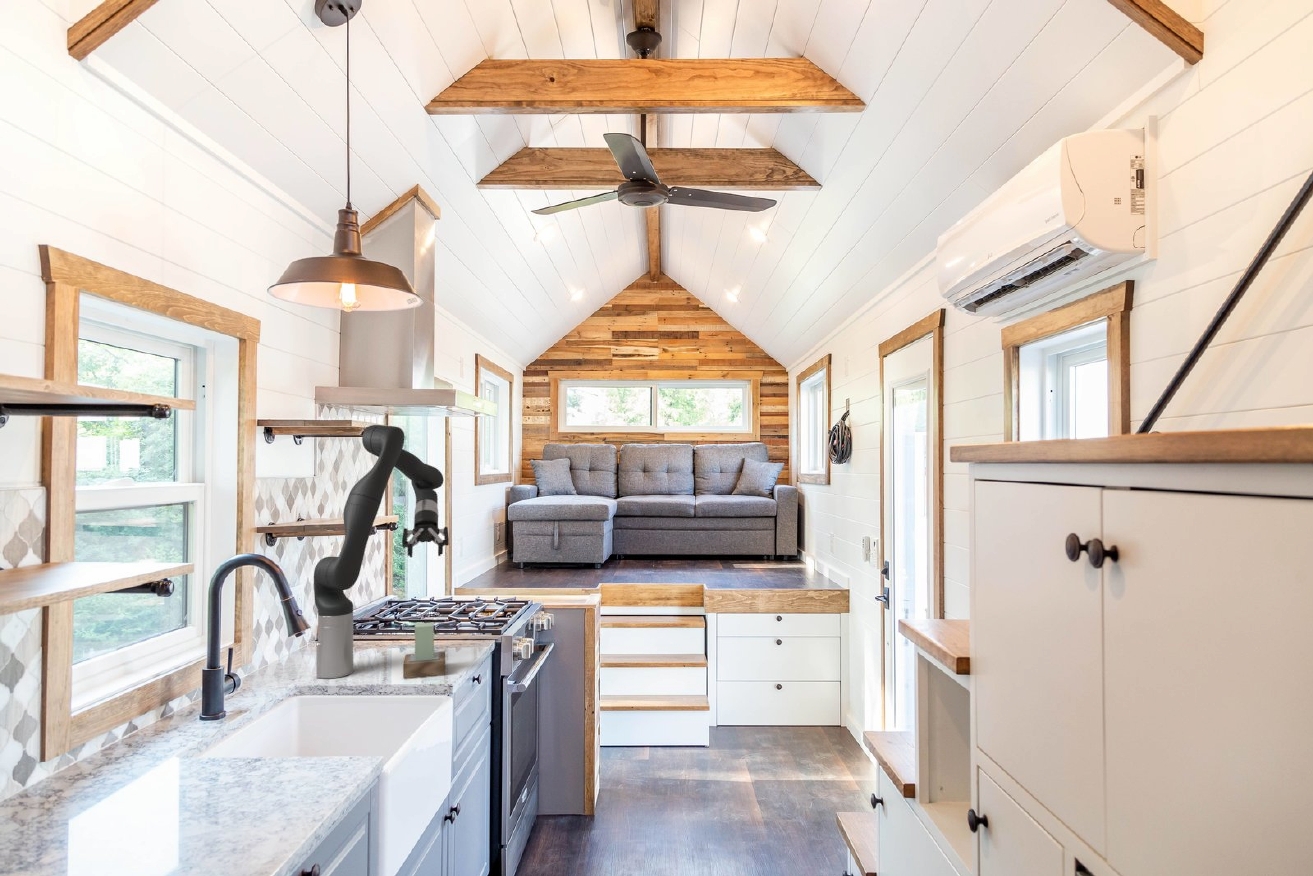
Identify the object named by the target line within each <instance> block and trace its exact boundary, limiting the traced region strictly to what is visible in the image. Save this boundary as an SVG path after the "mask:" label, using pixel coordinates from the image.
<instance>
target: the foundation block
mask: <svg viewBox="0 0 1313 876" xmlns="http://www.w3.org/2000/svg"><path fill="white" fill-rule="evenodd" d="M404 656H405V657H404V660H403V663H402V664H403V665H402V669H403V670H402V673H403V675H402V676H403V677H402V678H410V679H417V677H420V678H427V677H426V676H431V677H436V676H435V675H441V676H445V675H446V650H444V651H434V658H427V659H416V660H415V653H409V654H405V655H404Z"/></svg>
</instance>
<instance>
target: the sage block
mask: <svg viewBox="0 0 1313 876" xmlns="http://www.w3.org/2000/svg"><path fill="white" fill-rule="evenodd" d="M434 623H435V622H434V621H433V622H419V623H417V622H416V623H415V624H414V654H415V660H416V659H427V658H434V652H435V639H434V638H435V635H434V634H435V631H434V630H435V629H434V628H435V624H434Z"/></svg>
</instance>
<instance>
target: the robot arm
mask: <svg viewBox="0 0 1313 876" xmlns="http://www.w3.org/2000/svg"><path fill="white" fill-rule="evenodd" d="M362 433H363V434H362V437H361V438H362V439H361V442H362V445H363V448H364V449H365V450H366V452H368V453H369V454H372V455H373V456H376V457H377V460H376V461H375V464H374V465H373V467H372V468H371V469H370V470H369V471H368V472H367V473H366V474H364V476H363V477H361V478H360V479H359V480H358V481H357V482H356V483H355V484H354V485H353V486H352V488H351V490H350V492H349V494H348V496H347V499H346V501H345V505H344V508H343V513H342V514H343V516H342V517H343V527H344V540H343V544H342V546H341V550H340V551H339V552H340V553H339V555H338V556H326V557H323V558H321V559H320V560H319V561H318V562H317V564H316V565H315V568H314V571H313V590H314V591H313V594H314V604H315V606H316V609H317V628H318V629H317V643H316V647H315V649H316V652H315V653H316V665H315V666H316V670H315V671H316V678H317V679H321V678H322V679H335V678H342V677H347V676H348V675H349V676H350V675H351V674H353V673H354V603H353V601H352V600H351V599H349V598H348V596H346V594H345V592H344V591H347V590H349V589H351V588H352V587H353V586H354V585H355V584H356V582H357V580H358V578H359V576H360V573H361V569H362V564H363V562H364V561H363V560H364V556H365V551H366V549H367V544H368V541H369V537H370V535H371V531H372V528H373V525H374V522H375V519H376V516H377V515H378V511H379V509H380V506H381V503H382V501H383V497H384V493H385V491H386V487H387V485H388V482H389V480H390V477H391V474H392V473H393V470H394V469H397V470H399V472H400V473H402V474H403V475H404V477H405V476H406V478H408V479H409V481H411V486H412V489H413V491H414V495H415V508H414V516H413V517H414V518H413V519H414V522H413V529H409V530H408V528H406V527H405V528H403V531H402V537H401V538H402V539H401V543H402V544H401V547H402V548H407V556H408V557H409V558H413V553H414V551H413V550H414V549H413V548H414V547H415V546H417V545H418V544H419V543H425V542H426V543H431V542H433V543H434V544H435V545H436V546H437V547H438V548H437V556H438V557H441V555H443V553H444V546H446V547H447V546H449V545H450V543H449V540H450V539H449V538H450V537H449V527H448V526H444V527H443V528H439V509H438V507H439V506H438V499H439V497H438V493H437V492H436V489H439V488H441V487H442V485H443V484H444V474H442V472H441V471H440V470H439V469H438V468H437V467H435V466H432V465H430V464H428V463H424V462H423V461H422V460H421V459H420V458H419V457H417V456H416V455H415V454H413V452H412V453H411V452H409V451H408V450H405V449H403V447H404V444H405V433H404V430H403V429H402V428H401V427H399V426H393V425H384V424H383V425H382V424H372V425H369V426H367V427H366V428H365V430H364V431H363V432H362ZM440 534H441V536H443V537H444V539H442V538H441V537H440ZM411 535H412V537H411V538H410V540H408V538H409V537H410V536H411Z"/></svg>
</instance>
